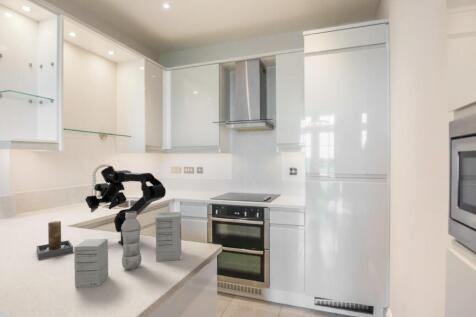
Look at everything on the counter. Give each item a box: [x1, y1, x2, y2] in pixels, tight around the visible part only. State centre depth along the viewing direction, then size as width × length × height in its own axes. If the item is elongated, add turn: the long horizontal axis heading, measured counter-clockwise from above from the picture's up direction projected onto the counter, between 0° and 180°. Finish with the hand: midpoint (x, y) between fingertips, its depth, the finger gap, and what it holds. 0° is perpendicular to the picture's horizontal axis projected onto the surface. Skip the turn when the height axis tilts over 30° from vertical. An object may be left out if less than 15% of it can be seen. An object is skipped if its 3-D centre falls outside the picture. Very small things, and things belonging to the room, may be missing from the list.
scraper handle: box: [44, 220, 65, 252], centre depth 109 cm, size 6×6×12 cm
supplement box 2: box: [155, 211, 182, 262], centre depth 103 cm, size 10×9×17 cm
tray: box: [36, 239, 74, 260], centre depth 109 cm, size 12×12×2 cm
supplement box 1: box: [73, 238, 109, 288], centre depth 82 cm, size 7×7×13 cm
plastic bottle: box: [121, 211, 142, 270], centre depth 92 cm, size 6×7×20 cm
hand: (100, 210), depth 132 cm, fingers open, 9 cm apart
